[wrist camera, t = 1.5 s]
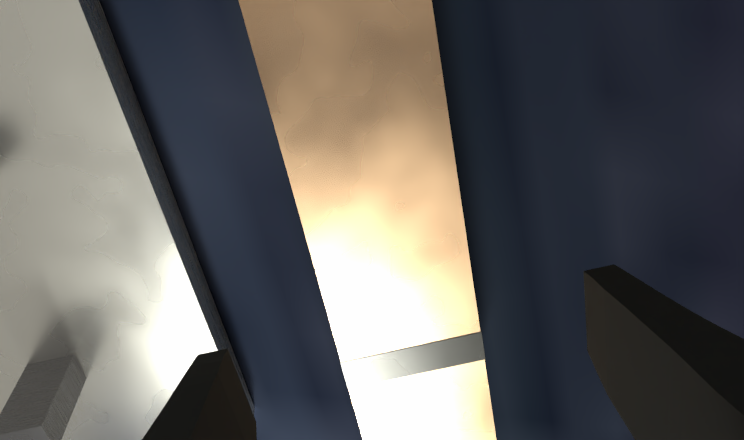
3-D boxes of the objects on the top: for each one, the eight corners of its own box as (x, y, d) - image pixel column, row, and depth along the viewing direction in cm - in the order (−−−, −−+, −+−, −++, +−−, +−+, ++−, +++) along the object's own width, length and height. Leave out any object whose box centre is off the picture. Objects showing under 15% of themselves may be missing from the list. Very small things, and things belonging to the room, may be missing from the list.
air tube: (472, 380, 25) (501, 465, 21) (366, 402, 25) (377, 492, 21) (383, -169, 16) (406, -177, 13) (221, -133, 16) (200, -131, 13)
